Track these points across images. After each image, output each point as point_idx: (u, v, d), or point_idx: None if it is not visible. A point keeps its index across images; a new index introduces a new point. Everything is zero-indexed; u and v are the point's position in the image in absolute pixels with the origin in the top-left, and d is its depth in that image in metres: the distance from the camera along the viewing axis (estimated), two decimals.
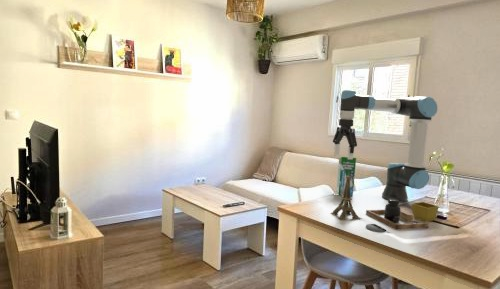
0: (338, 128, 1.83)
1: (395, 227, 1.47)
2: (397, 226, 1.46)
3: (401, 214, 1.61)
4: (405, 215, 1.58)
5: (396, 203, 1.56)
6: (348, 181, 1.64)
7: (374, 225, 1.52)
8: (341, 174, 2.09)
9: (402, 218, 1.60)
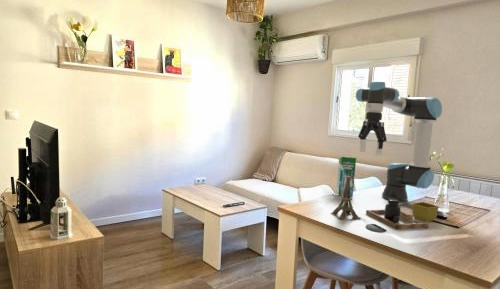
0: (365, 122, 1.71)
1: (395, 227, 1.47)
2: (397, 226, 1.46)
3: (401, 214, 1.61)
4: (404, 215, 1.58)
5: (396, 203, 1.56)
6: (348, 181, 1.64)
7: (374, 225, 1.52)
8: (341, 174, 2.09)
9: (402, 218, 1.60)
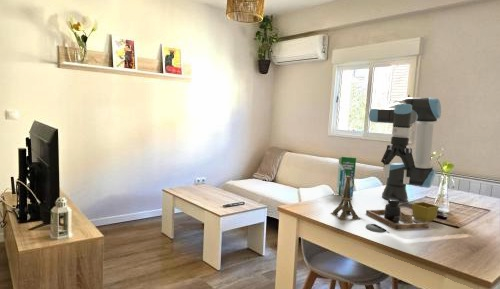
0: (389, 146, 1.60)
1: (395, 227, 1.47)
2: (397, 226, 1.46)
3: (401, 214, 1.61)
4: (403, 215, 1.58)
5: (396, 203, 1.56)
6: (348, 181, 1.64)
7: (374, 225, 1.52)
8: (341, 174, 2.09)
9: (401, 218, 1.60)
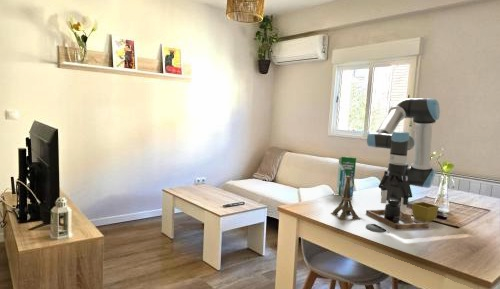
0: (386, 173, 1.61)
1: (395, 227, 1.47)
2: (397, 226, 1.46)
3: (401, 213, 1.61)
4: (402, 214, 1.59)
5: (396, 203, 1.56)
6: (348, 181, 1.64)
7: (374, 225, 1.52)
8: (341, 174, 2.09)
9: (402, 218, 1.60)
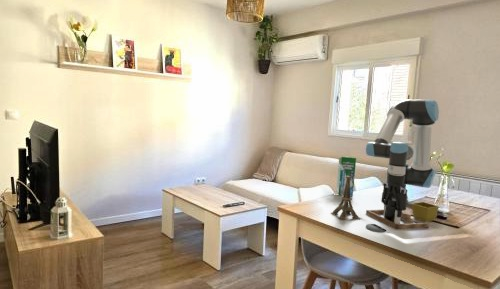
0: (385, 185, 1.62)
1: (395, 227, 1.47)
2: (397, 226, 1.46)
3: None
4: (402, 214, 1.59)
5: None
6: (348, 181, 1.64)
7: (374, 225, 1.52)
8: (341, 174, 2.09)
9: (402, 218, 1.60)
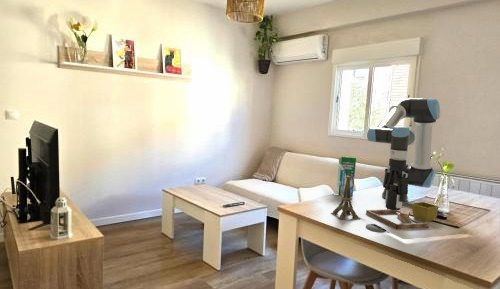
0: (387, 169, 1.61)
1: (395, 227, 1.47)
2: (397, 226, 1.46)
3: None
4: (400, 213, 1.60)
5: None
6: (348, 181, 1.64)
7: (374, 225, 1.52)
8: (341, 174, 2.09)
9: (401, 218, 1.60)
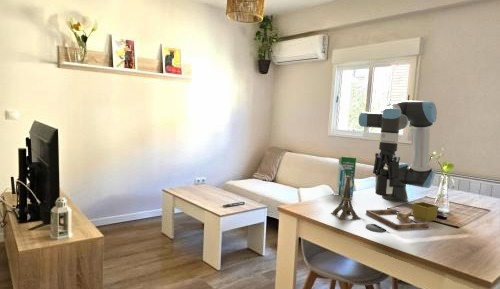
0: (377, 154, 1.54)
1: (395, 227, 1.47)
2: (397, 226, 1.46)
3: None
4: None
5: None
6: (348, 181, 1.64)
7: (374, 225, 1.52)
8: (341, 174, 2.09)
9: (400, 218, 1.61)
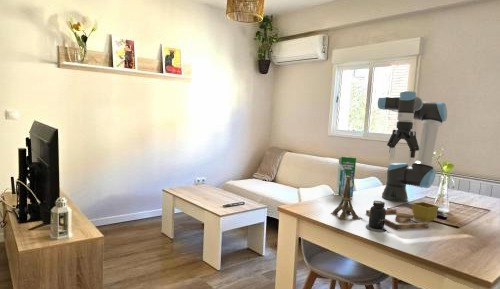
0: (394, 131, 1.74)
1: (395, 227, 1.47)
2: (397, 226, 1.46)
3: None
4: None
5: (381, 205, 1.47)
6: (348, 181, 1.64)
7: None
8: (341, 174, 2.09)
9: None
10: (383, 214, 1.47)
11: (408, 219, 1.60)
